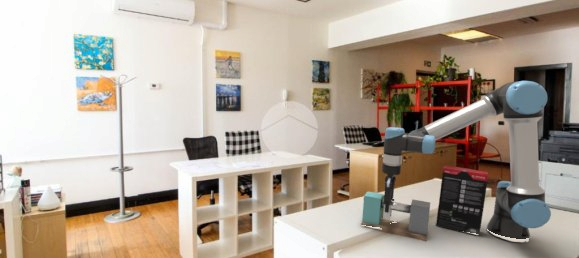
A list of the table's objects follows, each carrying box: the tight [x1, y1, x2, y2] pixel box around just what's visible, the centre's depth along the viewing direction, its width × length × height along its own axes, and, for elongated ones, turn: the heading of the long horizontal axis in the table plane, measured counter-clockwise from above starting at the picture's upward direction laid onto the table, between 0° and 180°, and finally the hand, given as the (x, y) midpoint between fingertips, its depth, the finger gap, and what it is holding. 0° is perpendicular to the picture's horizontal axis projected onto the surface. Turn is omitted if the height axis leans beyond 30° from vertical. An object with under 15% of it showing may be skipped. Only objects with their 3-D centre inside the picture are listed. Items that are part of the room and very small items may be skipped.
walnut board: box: [360, 218, 428, 242], centre depth 136 cm, size 26×10×2 cm, turn 65°
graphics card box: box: [435, 164, 489, 235], centre depth 138 cm, size 17×7×27 cm, turn 59°
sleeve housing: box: [408, 198, 431, 237], centre depth 131 cm, size 7×7×12 cm
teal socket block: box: [361, 191, 384, 225], centre depth 139 cm, size 7×7×12 cm
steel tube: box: [381, 200, 411, 214], centre depth 135 cm, size 17×4×4 cm, turn 65°
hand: (387, 217), depth 137 cm, fingers open, 4 cm apart
